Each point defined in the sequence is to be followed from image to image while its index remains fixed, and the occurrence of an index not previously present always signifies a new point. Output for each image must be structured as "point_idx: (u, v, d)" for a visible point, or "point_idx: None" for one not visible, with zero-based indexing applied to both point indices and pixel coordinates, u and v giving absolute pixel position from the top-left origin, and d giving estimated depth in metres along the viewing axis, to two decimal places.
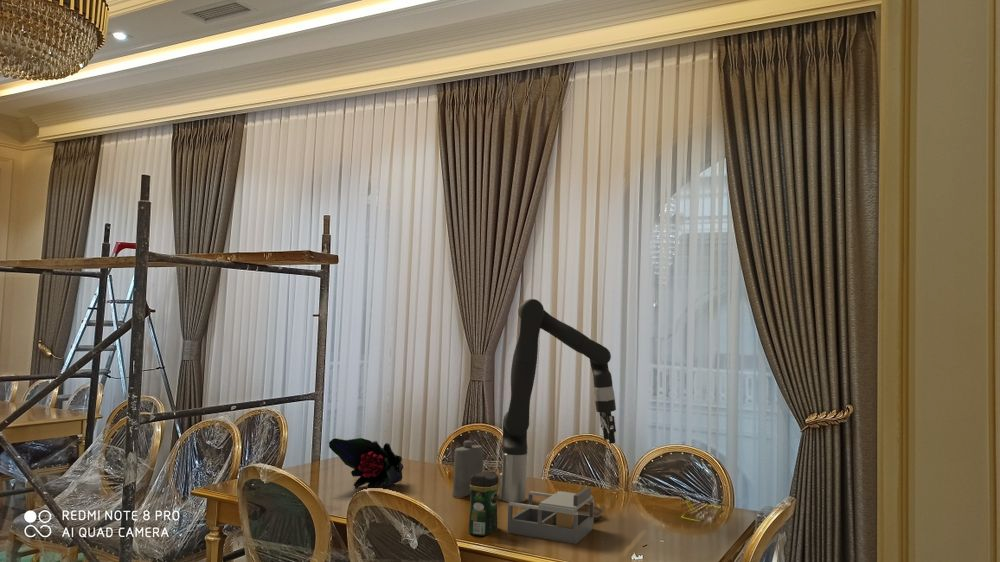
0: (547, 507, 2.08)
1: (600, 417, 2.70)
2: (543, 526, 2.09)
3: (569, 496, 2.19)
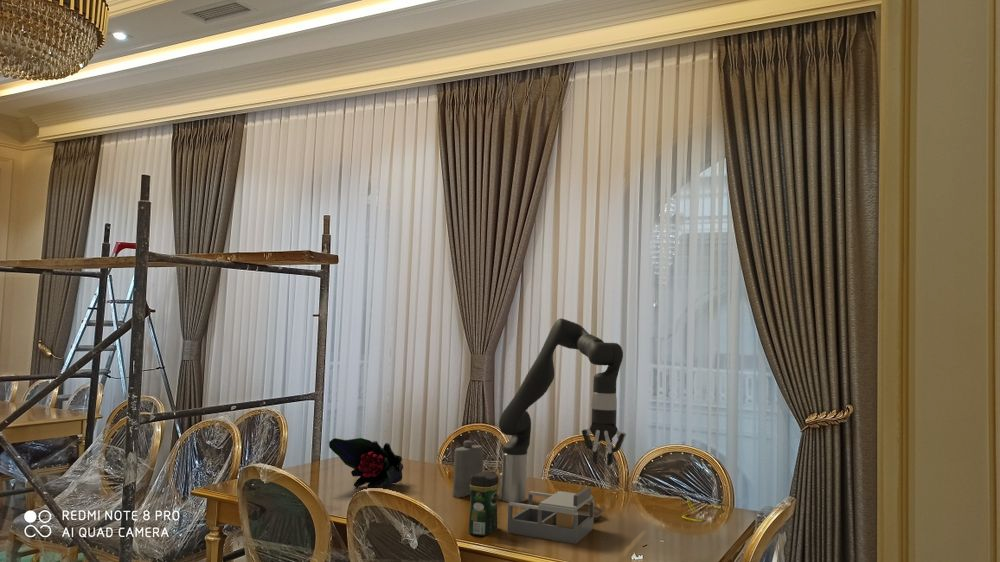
0: (547, 507, 2.08)
1: None
2: (543, 526, 2.09)
3: (569, 496, 2.19)
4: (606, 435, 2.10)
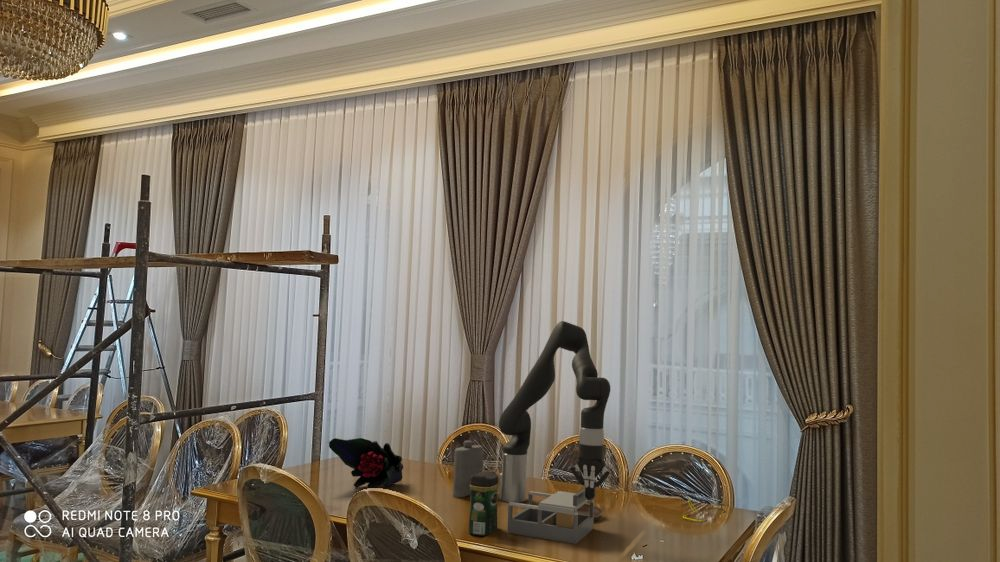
0: (547, 507, 2.08)
1: None
2: (543, 526, 2.09)
3: (569, 496, 2.19)
4: (592, 470, 2.11)
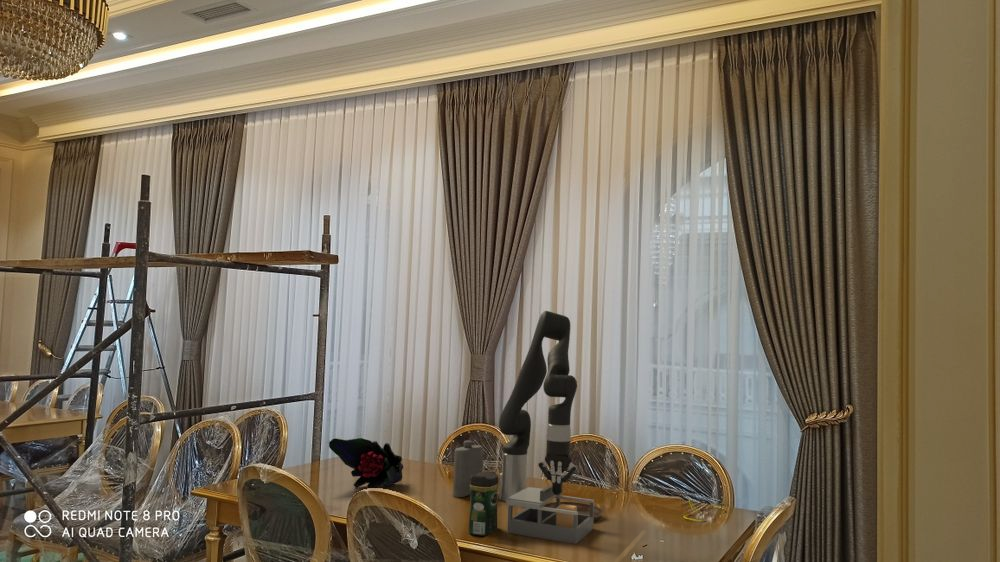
0: (514, 502, 2.12)
1: None
2: (543, 526, 2.09)
3: (537, 492, 2.24)
4: (559, 466, 2.16)
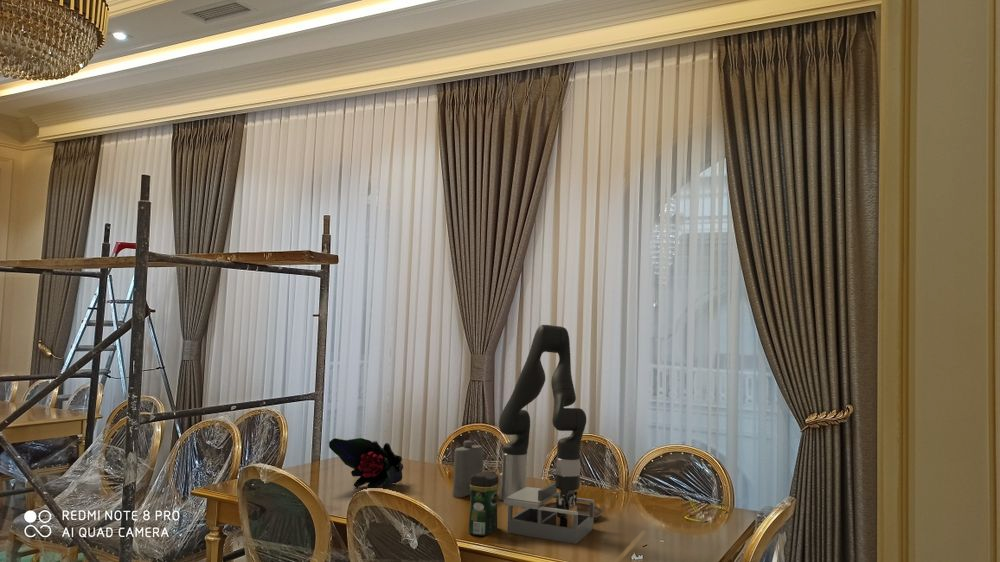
0: (512, 502, 2.12)
1: None
2: (543, 526, 2.09)
3: (535, 491, 2.24)
4: (574, 498, 2.16)
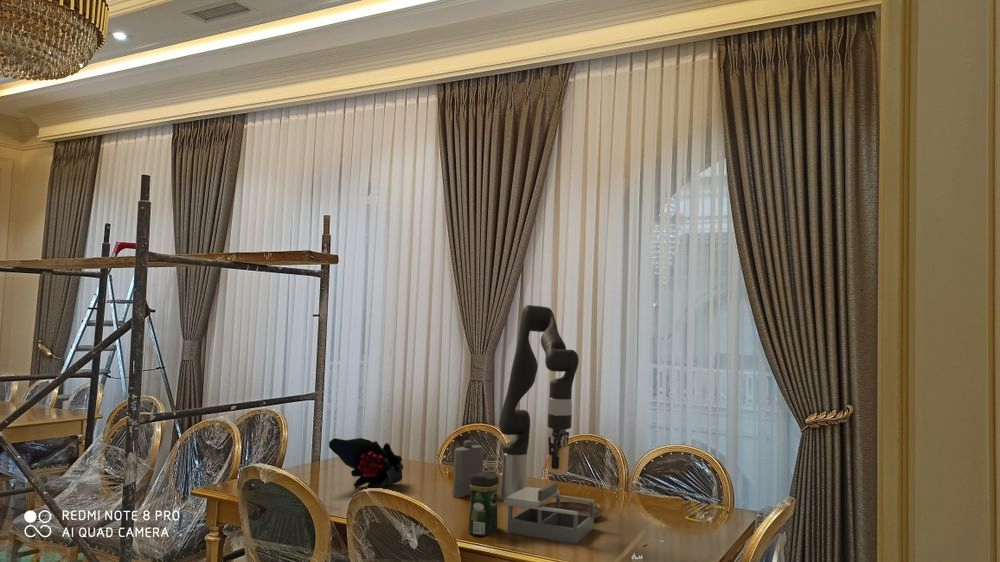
0: (512, 502, 2.12)
1: None
2: (543, 526, 2.09)
3: (535, 491, 2.24)
4: (566, 438, 2.19)
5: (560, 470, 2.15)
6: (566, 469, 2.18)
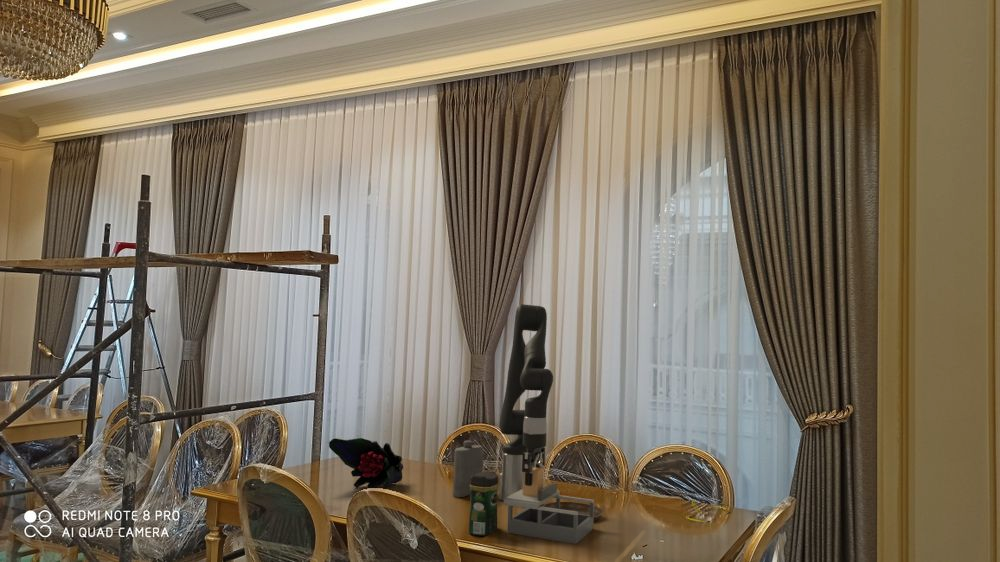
0: (512, 502, 2.12)
1: None
2: (543, 526, 2.09)
3: None
4: (541, 456, 2.22)
5: (535, 493, 2.17)
6: None
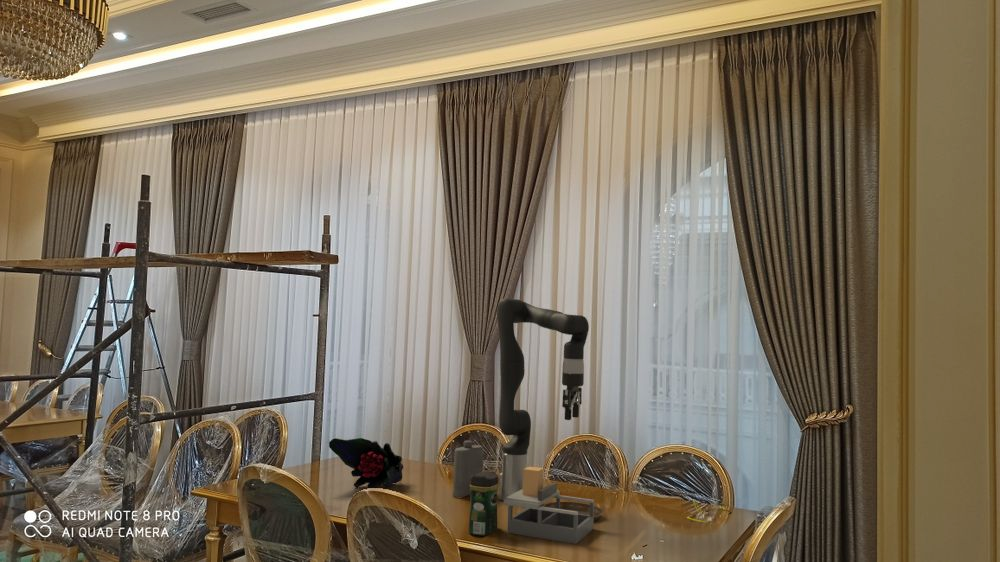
0: (512, 502, 2.12)
1: None
2: (543, 526, 2.09)
3: None
4: (579, 394, 2.43)
5: (535, 493, 2.17)
6: None
